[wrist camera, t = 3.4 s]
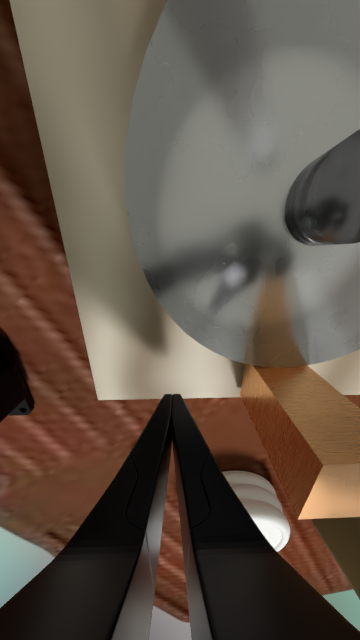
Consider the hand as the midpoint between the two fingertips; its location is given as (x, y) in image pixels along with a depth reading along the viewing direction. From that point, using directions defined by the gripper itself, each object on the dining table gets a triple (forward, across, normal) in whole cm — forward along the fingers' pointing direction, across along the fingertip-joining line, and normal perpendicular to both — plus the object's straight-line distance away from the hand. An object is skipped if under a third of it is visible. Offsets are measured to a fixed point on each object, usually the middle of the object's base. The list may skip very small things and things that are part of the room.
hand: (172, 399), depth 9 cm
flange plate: (+2, -6, -8) cm, 10 cm away
